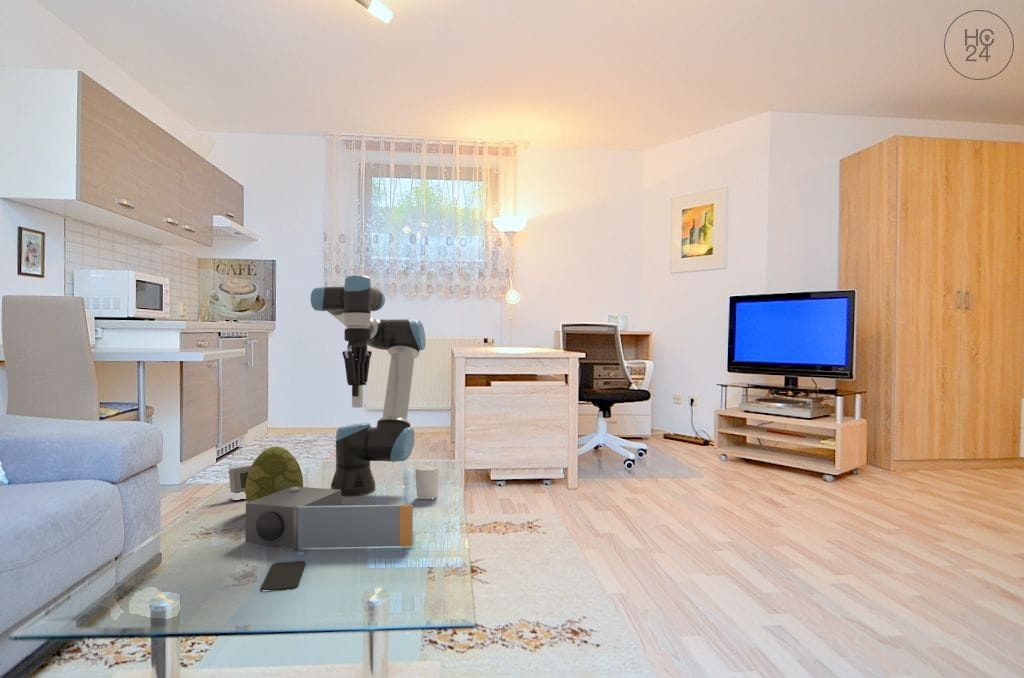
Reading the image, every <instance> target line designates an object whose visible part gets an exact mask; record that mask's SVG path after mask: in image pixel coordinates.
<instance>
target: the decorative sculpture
mask: <svg viewBox="0 0 1024 678" xmlns="http://www.w3.org/2000/svg"><path fill="white" fill-rule="evenodd" d="M251 465H252V466H251V468H250V470H249V473H248V476H247V480H246V486H245V494H246V500H245V501H246V503H248V502H251V501H253V500H256V499H259V498H262V497H264V496H267V495H270V494H273V493H276V492H278V491H281V490H284V489H287V488H289V487H292V486H295V487H304V477H303V474H302V470H301V467H300V464H299V463H298V461H297V459H296V458H295V457H294V455H293V454H292V453H291V452H290V451H289V450H288V449H286V448H284V447H282V446H277V445H275V446H274V445H273V446H270V447H268V448H266V449H264V450H263V451H261V452H260V454H259V455H258V456H257V457H256V458H255V459H254V461H253V463H251Z"/></svg>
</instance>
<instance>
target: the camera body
mask: <svg viewBox="0 0 1024 678" xmlns="http://www.w3.org/2000/svg"><path fill="white" fill-rule="evenodd" d="M294 506H342V495H341V490H337V489H331V488H324V487H323V488H320V487H307V486H306V487H305V486H303V487H295V486H292V487H289V488H287V489H284V490H281V491H278V492H276V493H273V494H270V495H267V496H264V497H262V498H259V499H256V500H253V501H251V502H248V503H247V502H246V503H245V543H250V544H259V545H269V546H278V547H287V548H293V526H294Z"/></svg>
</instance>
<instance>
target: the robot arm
mask: <svg viewBox="0 0 1024 678" xmlns="http://www.w3.org/2000/svg"><path fill="white" fill-rule="evenodd" d="M371 282H372V281H371V278H370V277H369V276H368V275H367V276H366V275H356V274H355V275H348V276H346V277H345V278H344V286H321V287H320V286H319V287H315V288H313V290H312V291H311V293H310V304H311V307H312V308H313V310H314V311H317V312H327V313H329V314H330V315H332V317H334V318H335V319H336V320H338V321H339V323H341V324H343V325H344V326H345V329H344V337H343V338H344V341H345V342H347V343H348V344H347V349H346V350H345V351H342V358H343V359H344V367H345V374H346V383H347V384H348V386H351V408H353V409H354V408H359V409H361V408H363V407H364V406H363V404H364V399H363V398H364V396H363V395H364V386H366V385H367V383H368V377H369V370H370V363H371V357H372V355H373V353H372V351H371V350H368V346H369V347H371V348H374V349H377V350H382V351H383V350H384V351H387V353H388V355H389V356H390V361H389V368H388V369H389V370H388V376H387V383H386V390H385V396H384V398H385V399H384V404H383V411H382V417H381V418H380V419H378V420H377V422H376V423H377V424H376V427H372V426H371V423H370V422H361V423H354V424H348V425H344V426H340V427H338V428H337V430H336V436H335V471H334V475H333V477H332V481H331V483H330V489H337V490H341V496H346V497H347V496H361V495H365V494H370V493H373V492H374V491H376V482H375V481H376V480H375V478H374V476H373V472H372V470H371V462H392V463H397V462H405V461H407V460H408V459H409V457H410V456H411V455H412V451H413V449H414V446H415V430H414V429H413V428H412V427H411V423H410V422H409V420H408V412H409V407H410V406H409V405H410V398H411V396H410V395H411V391H412V389H411V388H412V381H413V374H414V371H413V370H414V363H415V359H417V358H418V357H419V355H420V351H424V350H425V348H426V334H425V329H424V325H423V323H422V322H421V320H420V319H410V318H408V319H406V318H405V319H404V318H403V319H398V318H397V319H383V318H382V319H377V318H374V317H373V316H371V312H376V311H379V310H381V309H382V308H383V307H384V306H385V303H386V295H385V294H384V292H383V291H382V290H381V289H379V288H377V287H376V286H372V283H371ZM372 491H373V492H372Z"/></svg>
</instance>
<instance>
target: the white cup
mask: <svg viewBox="0 0 1024 678" xmlns="http://www.w3.org/2000/svg"><path fill="white" fill-rule="evenodd" d="M414 469H415V484H416V485H415V487H416V498H417V497H418V498H421V499H432V498H435V499H437V498H438V495H439V494H438V493H439V492H438V490H439V481H440V480H439V478H440V477H439V476H440V475H439V474H440V467H439V466H438V465H433V464H432V465H431V464H429V465H428V464H426V465H425V464H424V465H419V466H417V467H416V466H415V468H414ZM436 497H437V498H436ZM418 498H417V499H418ZM432 500H433V499H432Z"/></svg>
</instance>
